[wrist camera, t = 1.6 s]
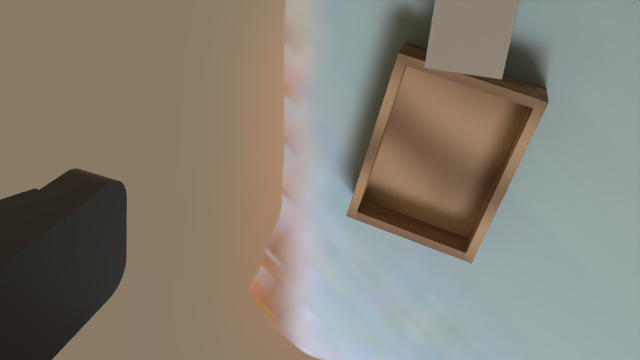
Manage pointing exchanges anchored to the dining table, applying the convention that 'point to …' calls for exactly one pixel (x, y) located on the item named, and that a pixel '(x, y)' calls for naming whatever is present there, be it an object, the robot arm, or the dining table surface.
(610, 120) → the dining table surface
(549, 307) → the dining table surface
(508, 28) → the beige grey block
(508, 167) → the bin
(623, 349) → the dining table surface
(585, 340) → the dining table surface
